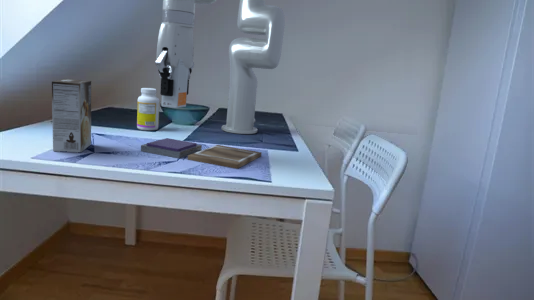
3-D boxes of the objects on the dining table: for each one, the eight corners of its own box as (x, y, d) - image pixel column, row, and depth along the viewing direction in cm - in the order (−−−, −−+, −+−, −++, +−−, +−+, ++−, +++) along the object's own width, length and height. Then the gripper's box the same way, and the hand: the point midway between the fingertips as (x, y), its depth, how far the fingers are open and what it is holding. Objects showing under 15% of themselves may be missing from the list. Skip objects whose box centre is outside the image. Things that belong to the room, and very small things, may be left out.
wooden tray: (217, 148, 113) (217, 144, 113) (261, 156, 109) (261, 151, 109) (187, 159, 98) (187, 154, 98) (237, 168, 94) (237, 163, 94)
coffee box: (64, 143, 102) (64, 78, 99) (91, 144, 103) (92, 80, 100) (51, 151, 93) (50, 80, 90) (81, 153, 95) (81, 83, 91)
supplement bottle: (145, 126, 135) (146, 87, 132) (162, 129, 133) (164, 89, 130) (132, 128, 129) (133, 87, 126) (150, 131, 127) (151, 90, 124)
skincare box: (177, 108, 99) (179, 58, 97) (160, 106, 100) (162, 56, 98) (186, 106, 105) (189, 59, 103) (171, 104, 106) (173, 57, 103)
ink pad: (165, 144, 112) (165, 137, 111) (201, 150, 108) (201, 143, 108) (140, 151, 102) (140, 143, 101) (179, 158, 98) (179, 150, 98)
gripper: (183, 23, 107) (180, 92, 111) (143, 14, 91) (140, 94, 95) (209, 25, 105) (204, 95, 109) (172, 16, 89) (168, 98, 93)
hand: (174, 94), depth 102 cm, fingers closed on skincare box, 6 cm apart
